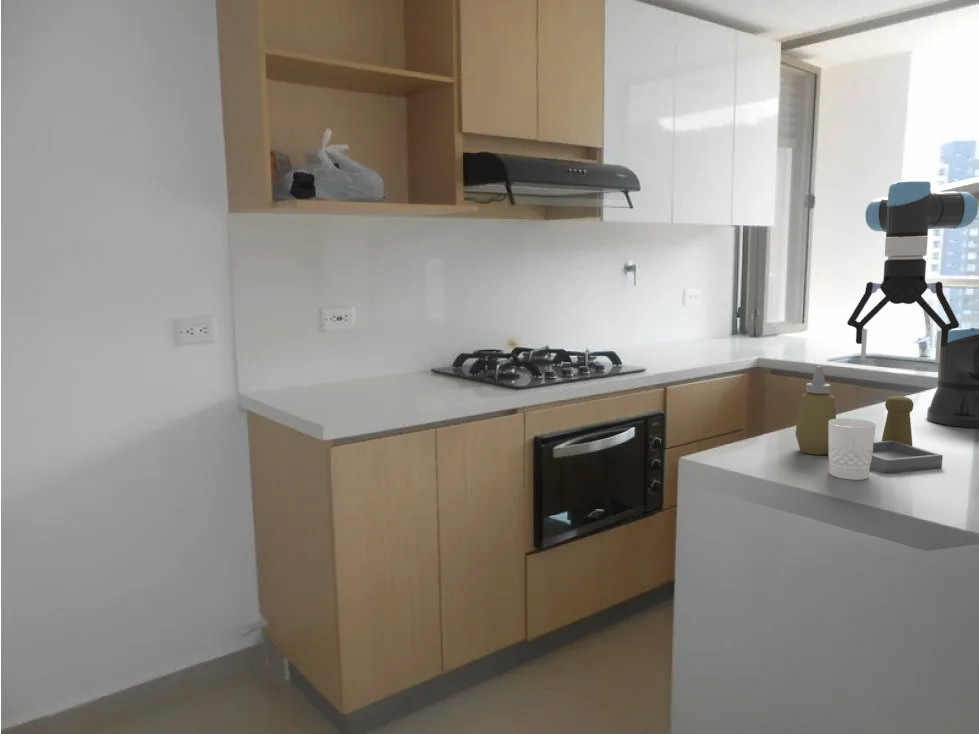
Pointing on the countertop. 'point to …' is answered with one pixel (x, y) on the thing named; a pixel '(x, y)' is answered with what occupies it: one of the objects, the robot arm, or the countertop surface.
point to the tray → (902, 457)
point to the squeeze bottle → (815, 415)
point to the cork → (898, 420)
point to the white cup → (850, 448)
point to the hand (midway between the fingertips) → (899, 361)
